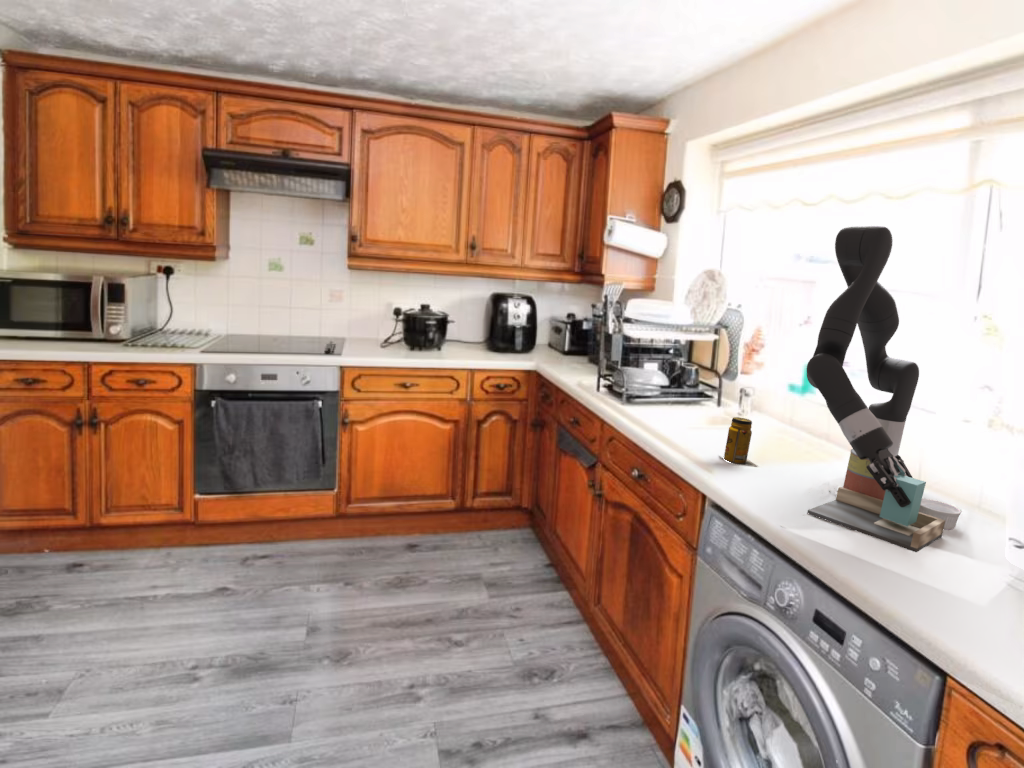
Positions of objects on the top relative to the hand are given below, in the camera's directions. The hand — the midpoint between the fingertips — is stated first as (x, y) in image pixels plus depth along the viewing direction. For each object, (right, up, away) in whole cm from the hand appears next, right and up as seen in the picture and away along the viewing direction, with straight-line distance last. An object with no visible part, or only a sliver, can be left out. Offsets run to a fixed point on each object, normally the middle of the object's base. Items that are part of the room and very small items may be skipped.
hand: (911, 503), depth 141 cm
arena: (-6, -5, +4) cm, 9 cm away
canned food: (+1, -4, +19) cm, 19 cm away
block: (-2, -4, +2) cm, 5 cm away
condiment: (-22, +4, +44) cm, 49 cm away
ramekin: (+11, -7, +10) cm, 17 cm away
